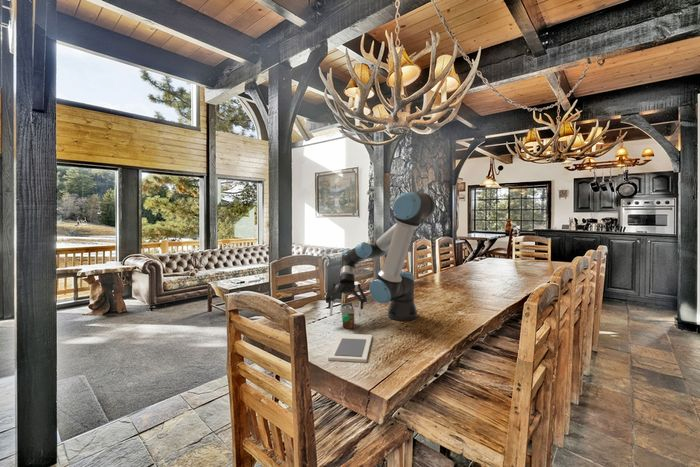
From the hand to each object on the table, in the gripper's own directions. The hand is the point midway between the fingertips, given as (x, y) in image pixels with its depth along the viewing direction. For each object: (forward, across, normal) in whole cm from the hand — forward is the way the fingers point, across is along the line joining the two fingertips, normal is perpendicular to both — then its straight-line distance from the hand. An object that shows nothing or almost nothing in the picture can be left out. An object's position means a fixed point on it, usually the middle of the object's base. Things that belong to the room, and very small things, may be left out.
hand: (345, 314), depth 155 cm
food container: (+4, -1, -4) cm, 6 cm away
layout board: (+21, -5, +13) cm, 25 cm away
